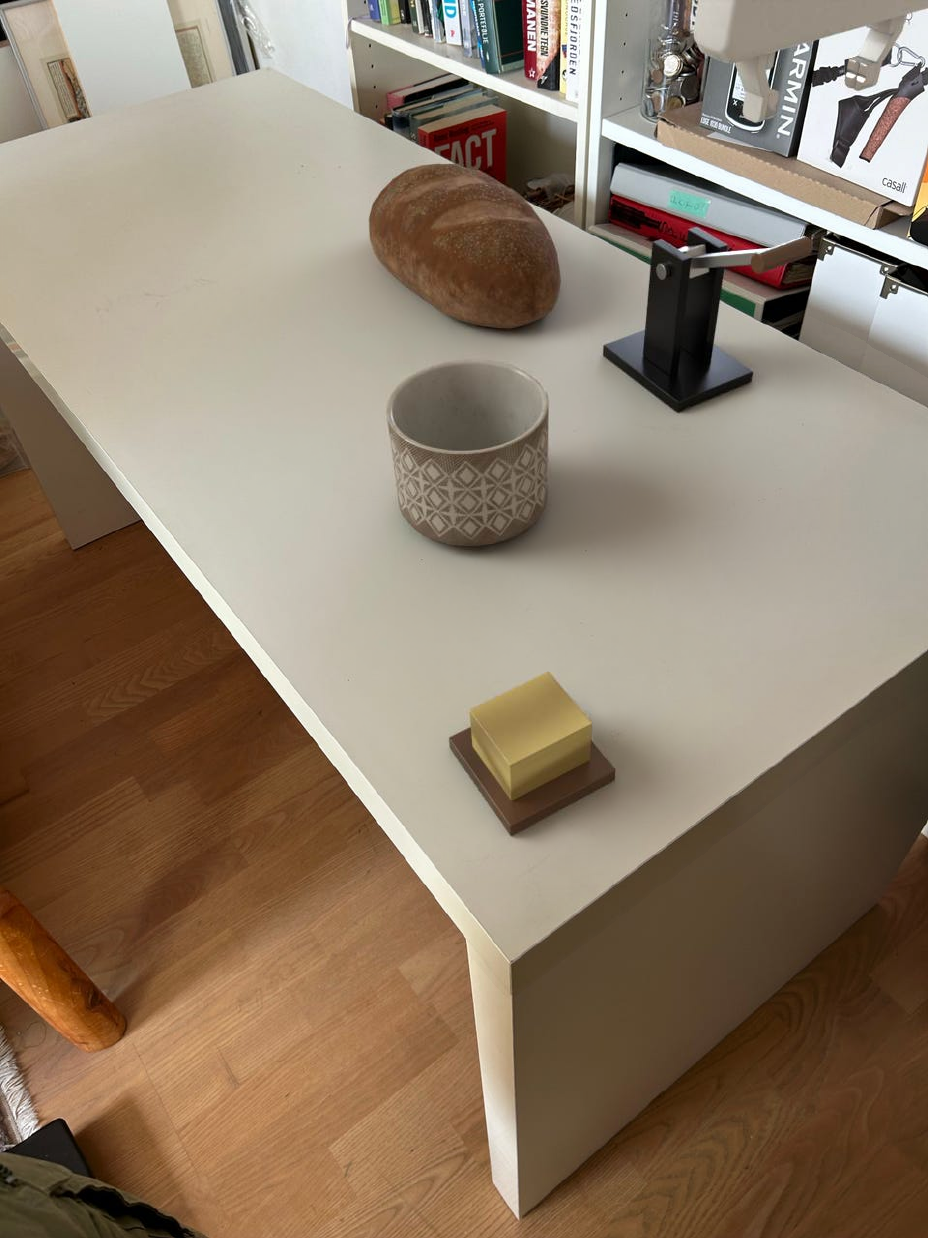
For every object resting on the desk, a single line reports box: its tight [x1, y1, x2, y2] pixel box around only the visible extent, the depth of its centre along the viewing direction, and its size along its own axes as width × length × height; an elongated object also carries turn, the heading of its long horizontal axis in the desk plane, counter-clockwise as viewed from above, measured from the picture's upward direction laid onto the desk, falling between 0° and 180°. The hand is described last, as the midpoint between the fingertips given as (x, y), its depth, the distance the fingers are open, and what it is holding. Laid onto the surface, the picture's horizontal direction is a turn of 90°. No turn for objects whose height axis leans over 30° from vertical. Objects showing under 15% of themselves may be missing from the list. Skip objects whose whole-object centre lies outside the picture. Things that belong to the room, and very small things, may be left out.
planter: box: [385, 358, 550, 547], centre depth 79 cm, size 13×13×10 cm
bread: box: [368, 163, 562, 330], centre depth 106 cm, size 16×29×11 cm, turn 32°
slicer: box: [602, 226, 755, 413], centre depth 90 cm, size 12×9×13 cm
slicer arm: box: [677, 235, 813, 279], centre depth 82 cm, size 14×5×2 cm, turn 30°
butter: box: [448, 671, 617, 837], centre depth 62 cm, size 8×8×5 cm
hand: (809, 102), depth 68 cm, fingers open, 8 cm apart
